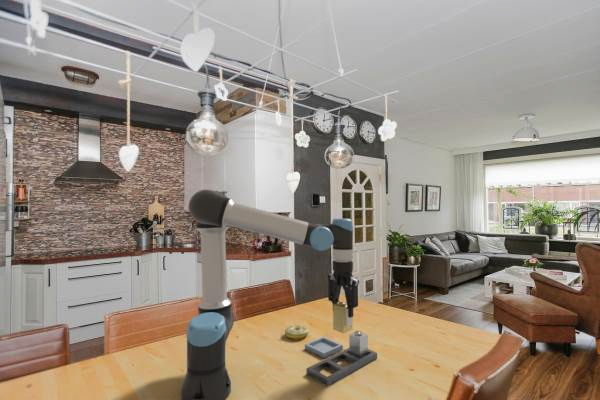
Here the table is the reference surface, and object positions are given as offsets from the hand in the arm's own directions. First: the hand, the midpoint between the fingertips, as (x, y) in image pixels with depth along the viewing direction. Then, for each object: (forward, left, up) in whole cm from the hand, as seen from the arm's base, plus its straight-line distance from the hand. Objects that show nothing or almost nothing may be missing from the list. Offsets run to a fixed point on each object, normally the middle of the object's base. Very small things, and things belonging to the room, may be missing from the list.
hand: (342, 323), depth 114 cm
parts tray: (+4, +14, -16) cm, 21 cm away
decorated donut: (+5, +32, -16) cm, 36 cm away
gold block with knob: (0, 0, -2) cm, 2 cm away
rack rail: (0, 0, -16) cm, 16 cm away
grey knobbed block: (+9, 0, -16) cm, 18 cm away
